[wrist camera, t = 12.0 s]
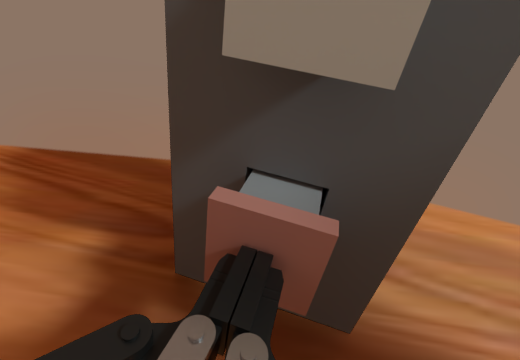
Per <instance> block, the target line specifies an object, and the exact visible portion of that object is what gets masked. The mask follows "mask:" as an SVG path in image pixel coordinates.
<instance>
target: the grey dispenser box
mask: <svg viewBox="0 0 520 360" xmlns="http://www.w3.org/2000/svg"><path fill="white" fill-rule="evenodd" d="M224 13H225V0H165V18H166V20H165V21H166V47H167V72H168V97H169V123H170V149H171V175H172V201H173V226H174V252H175V273H178V274H181V275H183V276H186V277H189V278H192V279H195V280H198V281H201V282H203V283H207V282H206V281H204V269H205V249H206V229H207V209H208V197H209V196H210V195H211V194H212V192H213V191H214V190H215V189H216V187H217V186H219V187H223V188H226V189H230V190H233V191H237V192H239V191H240V190H241V188H242V187H243V185H244V184H245V182H246V180H247V179H248V177H249V176H250V174H251V173H252V171H253V169H257V170H261V171H264V172H268V173H272V174H275V175H279V176H283V177H287V178H290V179H294V180H298V181H301V182H305V183H309V184H313V185H316V186H320V187H323V190H322V197H321V204H320V211H319V215H321V216H324V217H328V218H331V219H335V220H338V221H339V237H338V239H337V242H336V244H335V246H334V249H333V251H332V254H331V256H330V258H329V261H328V263H327V266H326V268H325V270H324V273H323V275H322V278H321V280H320V282H319V285H318V287H317V290H316V292H315V295H314V297H313V299H312V302H311V304H310V307H309V309H308V311H307V314H306V316H304V315H301V314H298V313H295V312H292V311H289V310H286V309H283V308H281V307H278V309H281V310H284V311H287V312H289V313H292V314H295V315H298V316H301V317H304V318H307V319H310V320H312V321H315V322H318V323H321V324H324V325H327V326H330V327H332V328H335V329H338V330H341V331H344V332H347V333H351V331H352V329H353V328H354V326H355V324H356V323H357V321H358V319H359V318H360V316H361V315H362V313H363V311H364V310H365V308H366V306H367V305H368V303H369V301H370V300H371V298H372V296H373V295H374V293H375V292H376V290H377V288H378V287H379V285H380V283H381V282H382V280H383V278H384V277H385V275H386V273H387V272H388V270H389V269H390V267H391V265H392V264H393V262H394V260H395V259H396V257H397V255H398V254H399V252H400V250H401V249H402V247H403V246H404V244H405V242H406V241H407V239H408V237H409V236H410V234H411V232H412V231H413V229H414V227H415V226H416V224H417V223H418V221H419V219H420V218H421V216H422V214H423V213H424V211H425V209H426V208H427V206H428V205H429V203H430V201H431V199H432V198H433V196H434V195H435V193H436V191H437V190H438V188H439V186H440V185H441V183H442V181H443V180H444V178H445V177H446V175H447V173H448V172H449V170H450V168H451V166H452V165H453V163H454V162H455V160H456V159H457V157H458V155H459V154H460V152H461V150H462V148H463V147H464V145H465V144H466V142H467V140H468V139H469V137H470V136H471V134H472V132H473V131H474V129H475V127H476V126H477V124H478V122H479V121H480V119H481V117H482V116H483V114H484V112H485V111H486V109H487V108H488V106H489V104H490V102H491V101H492V99H493V97H494V96H495V94H496V93H497V91H498V89H499V88H500V86H501V84H502V83H503V81H504V80H505V78H506V76H507V75H508V73H509V71H510V70H511V68H512V67H513V65H514V63H515V62H516V60H517V58H518V57H519V55H520V0H431V2H430V4H429V7H428V9H427V12H426V14H425V17H424V19H423V22H422V24H421V27H420V29H419V31H418V34H417V36H416V39H415V41H414V44H413V46H412V49H411V51H410V54H409V56H408V59H407V61H406V63H405V66H404V68H403V71H402V73H401V76H400V78H399V81H398V83H397V86H396V88H395V90H390V89H385V88H381V87H376V86H371V85H366V84H361V83H356V82H351V81H346V80H341V79H336V78H332V77H327V76H322V75H317V74H312V73H307V72H302V71H297V70H292V69H287V68H283V67H278V66H273V65H268V64H263V63H258V62H253V61H248V60H243V59H239V58H234V57H229V56H224V55H222V45H223V29H224Z"/></svg>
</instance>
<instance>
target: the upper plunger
mask: <svg viewBox="0 0 520 360" xmlns="http://www.w3.org/2000/svg"><path fill="white" fill-rule="evenodd" d="M430 2H431V0H225V13H224V29H223V45H222V55H224V56H229V57H234V58H239V59H243V60H248V61H253V62H258V63H263V64H268V65H273V66H278V67H283V68H287V69H292V70H297V71H302V72H307V73H312V74H317V75H322V76H327V77H332V78H336V79H341V80H346V81H351V82H356V83H361V84H366V85H371V86H376V87H381V88H385V89H390V90H395V88H396V86H397V83H398V81H399V78H400V76H401V73H402V71H403V68H404V66H405V63H406V61H407V59H408V56H409V54H410V51H411V49H412V46H413V44H414V41H415V39H416V36H417V34H418V31H419V29H420V27H421V24H422V22H423V19H424V17H425V14H426V12H427V9H428V7H429V4H430Z"/></svg>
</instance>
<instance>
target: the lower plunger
mask: <svg viewBox="0 0 520 360" xmlns="http://www.w3.org/2000/svg"><path fill="white" fill-rule="evenodd" d="M322 190H323V187H320V186H316V185H313V184H309V183H305V182H301V181H298V180H294V179H290V178H287V177H283V176H279V175H275V174H272V173H268V172H264V171H261V170H257V169H253V171H252V173H251V174H250V176H249V177H248V179H247V180H246V182H245V184H244V185H243V187H242V188H241V190H240V191H239V192H237V191H233V190H230V189H226V188H223V187H219V186H217V187H216V189H215V190H214V191H213V192H212V194H211V195H210V196H209V197H208V209H207V229H206V249H205V269H204V281H206V282H208V280H209V278H210V276H211V274H212V272H213V271H214V269H215V267H216V265H217V263H218V261H219V260H220V259H221V258H222V257H223V256H225V255H226V254H227V253H229V254H232V255H236V256H237V254H238V252H239V250H240V248H241V246H242V245H243V246H247V247H250V248H253V249H256V250H257V253H258V251H262V252H265V253H269V254H272V255H274V256H273V260H272V264H271V267H272V268H276V269H279V270H282V275H283V279H284V283H283V287H282V291H281V296H280V300H279V304H278V307H281V308H283V309H286V310H289V311H292V312H295V313H298V314H301V315H304V316H306V314H307V311H308V309H309V307H310V304H311V302H312V299H313V297H314V295H315V292H316V290H317V287H318V285H319V282H320V280H321V278H322V275H323V273H324V270H325V268H326V266H327V263H328V261H329V258H330V256H331V254H332V251H333V249H334V246H335V244H336V242H337V239H338V237H339V221H338V220H335V219H331V218H328V217H324V216H321V215H319V211H320V204H321V197H322Z"/></svg>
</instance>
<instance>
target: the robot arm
mask: <svg viewBox="0 0 520 360" xmlns="http://www.w3.org/2000/svg"><path fill="white" fill-rule="evenodd" d="M273 256H274V255H272V254H269V253H265V252H262V251H258V253H257V250H256V249H253V248H250V247H247V246H243V245H242V246H241V248H240V250H239V252H238V254H237V256H236V255H232V254H229V253H227V254H226V255H225V256H223V257H222V258H221V259H220V260H219V261H218V263H217V265H216V267H215V269H214V271H213V272H212V274H211V276H210V278H209V280H208V282H207V283H206V285H205V287H204V289H203V291H202V293H201V295H200V297H199V298H198V300H197V302H196V304H195V306H194V308H193V309H192V311H191V312H190V313H189V315H187V316H186V317H185V318H183V319H182V320H180V321H177V322H173V323H151V322H150V320H149V319H148V318H147V317H146V316H143V315H140V314H134V315H129V316H126V317H124V318H122V319H120V320H118V321H116V322H113V323H111V324H109V325H107V326H105V327H103V328H101V329H99V330H97V331H94V332H92V333H90V334H88V335H86V336H84V337H82V338H80V339H77V340H75V341H73V342H71V343H69V344H67V345H65V346H63V347H60V348H58V349H56V350H54V351H52V352H50V353H48V354H46V355H43V356H41V357H39V358H37V359H35V360H215V359H216V356H217V354H220V355H222V356H223V355H224V352H225V350H226V354H225V360H275V358H274V356H273V354H272V352H271V347H270V338H271V333H272V329H273V325H274V321H275V317H276V312H277V308H278V304H279V300H280V296H281V291H282V287H283V283H284V279H283V275H282V270H279V269H276V268H272V267H271V264H272V260H273Z"/></svg>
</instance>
